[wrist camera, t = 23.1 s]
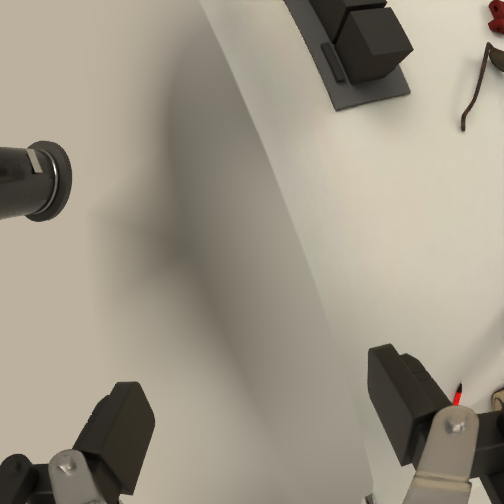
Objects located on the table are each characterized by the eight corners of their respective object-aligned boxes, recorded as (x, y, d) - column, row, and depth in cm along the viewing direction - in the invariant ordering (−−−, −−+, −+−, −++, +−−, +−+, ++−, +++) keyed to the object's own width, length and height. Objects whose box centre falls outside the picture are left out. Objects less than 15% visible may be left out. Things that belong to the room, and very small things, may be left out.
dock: (335, 110, 32) (355, 85, 22) (271, -21, 28) (269, -66, 19) (409, 93, 30) (446, 69, 21) (341, -32, 27) (353, -74, 17)
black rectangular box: (350, 85, 30) (372, 55, 22) (334, 48, 29) (349, 11, 21) (384, 77, 30) (413, 49, 21) (367, 42, 29) (390, 7, 20)
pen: (434, 459, 41) (436, 463, 40) (458, 382, 37) (460, 385, 36) (438, 458, 41) (440, 462, 40) (462, 380, 37) (465, 384, 36)
